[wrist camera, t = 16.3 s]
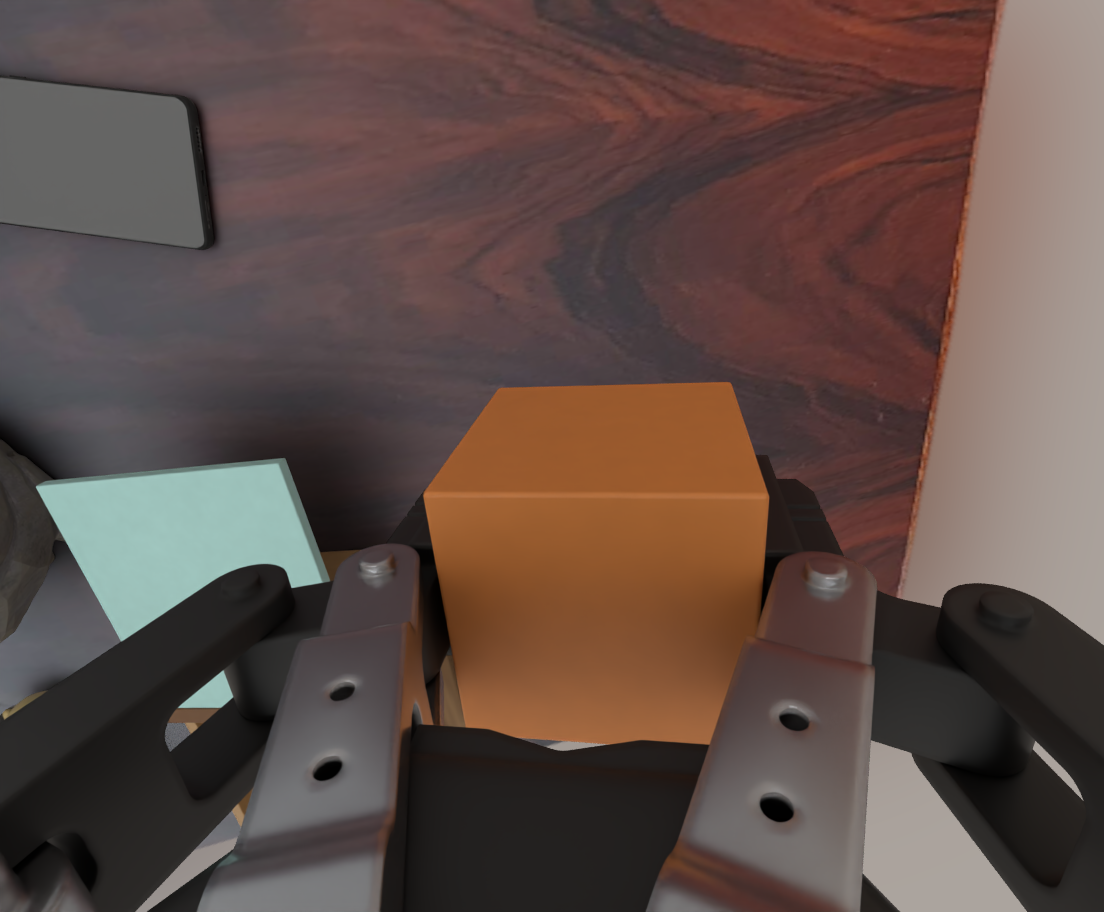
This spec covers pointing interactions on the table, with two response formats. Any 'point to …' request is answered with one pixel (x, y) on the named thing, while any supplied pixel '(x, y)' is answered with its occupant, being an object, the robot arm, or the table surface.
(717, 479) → the block
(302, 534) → the mint sliding box lid
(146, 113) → the smartphone
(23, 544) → the figurine
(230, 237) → the table surface
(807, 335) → the table surface
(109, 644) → the table surface
